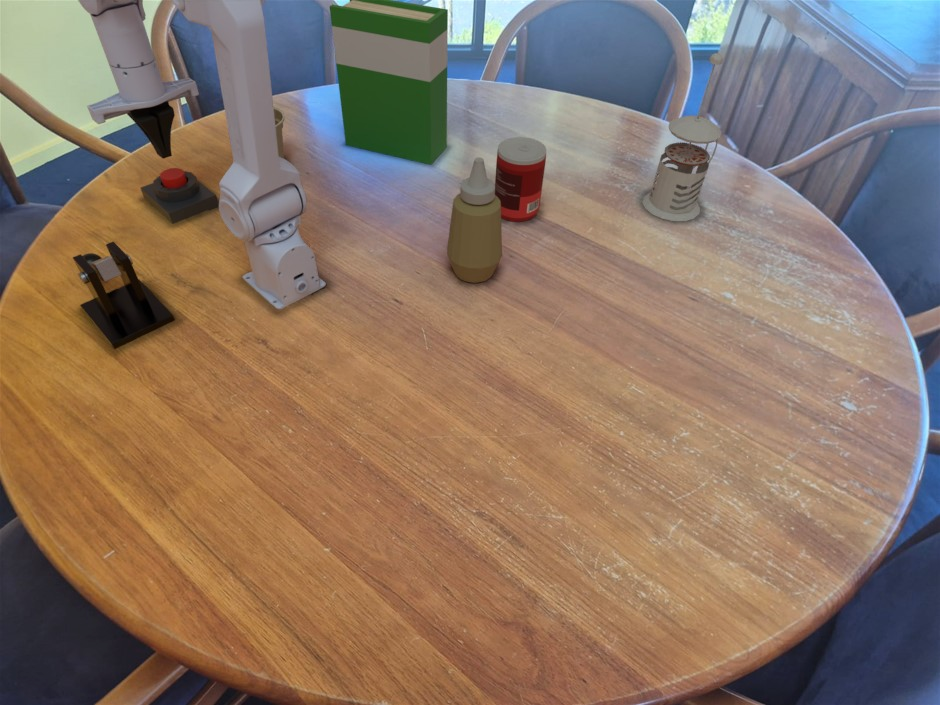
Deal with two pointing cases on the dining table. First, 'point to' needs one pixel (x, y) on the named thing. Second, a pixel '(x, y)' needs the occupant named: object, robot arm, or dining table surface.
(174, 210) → the button box
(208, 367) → the dining table surface
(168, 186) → the button
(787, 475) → the dining table surface
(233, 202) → the robot arm
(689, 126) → the french press
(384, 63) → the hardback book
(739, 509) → the dining table surface
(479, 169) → the squeeze bottle
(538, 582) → the dining table surface
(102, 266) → the lever
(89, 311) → the bracket
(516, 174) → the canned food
